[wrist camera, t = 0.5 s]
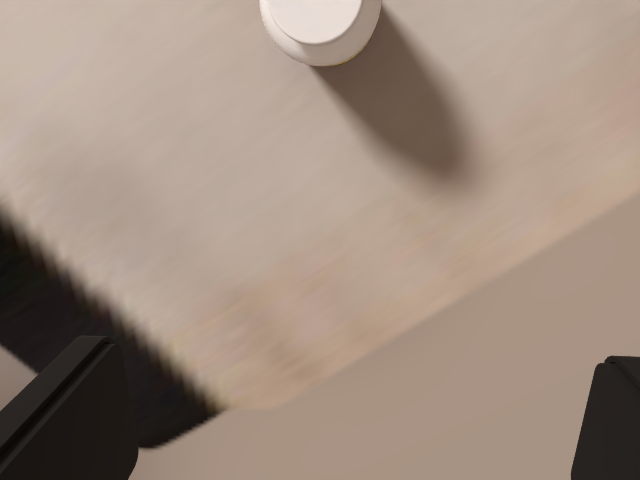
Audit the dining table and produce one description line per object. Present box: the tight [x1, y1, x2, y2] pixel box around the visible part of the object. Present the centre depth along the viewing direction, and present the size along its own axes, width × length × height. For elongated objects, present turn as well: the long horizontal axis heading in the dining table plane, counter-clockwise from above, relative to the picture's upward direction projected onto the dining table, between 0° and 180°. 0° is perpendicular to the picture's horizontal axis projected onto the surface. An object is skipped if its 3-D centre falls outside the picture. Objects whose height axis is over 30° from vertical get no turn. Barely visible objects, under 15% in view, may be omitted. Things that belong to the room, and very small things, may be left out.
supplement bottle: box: [260, 0, 382, 66], centre depth 28 cm, size 7×7×13 cm
